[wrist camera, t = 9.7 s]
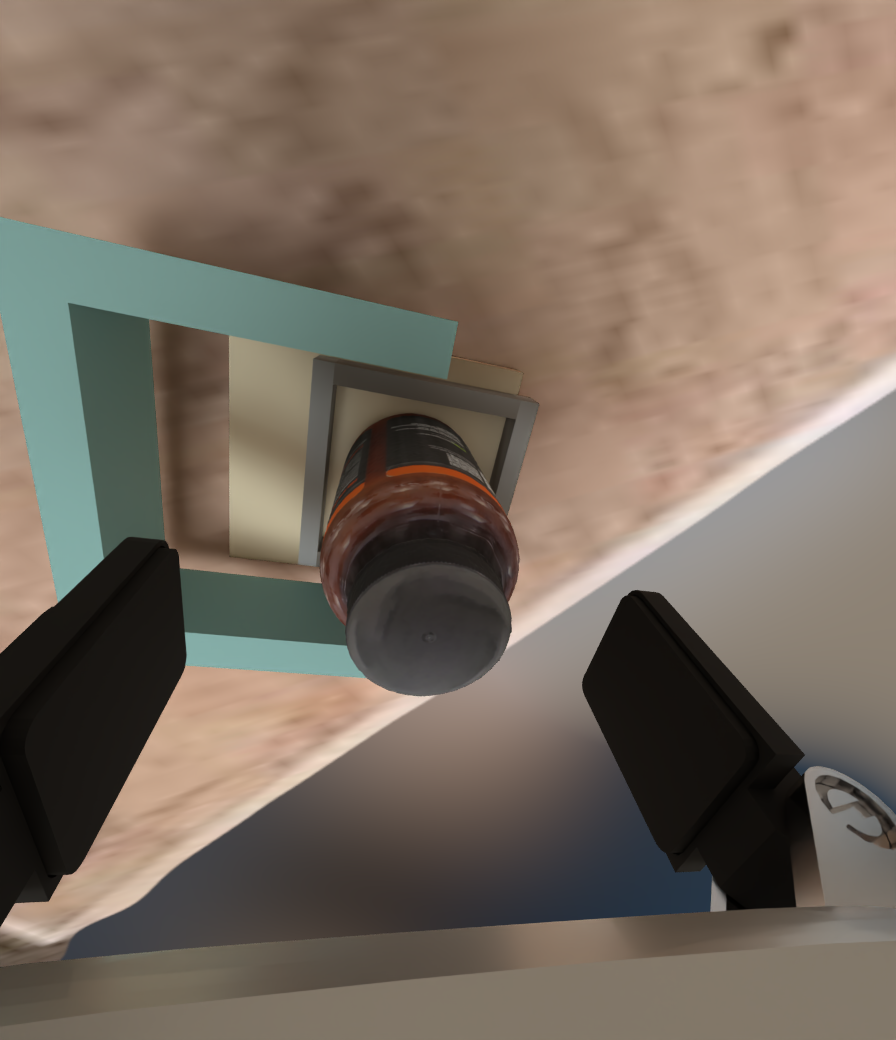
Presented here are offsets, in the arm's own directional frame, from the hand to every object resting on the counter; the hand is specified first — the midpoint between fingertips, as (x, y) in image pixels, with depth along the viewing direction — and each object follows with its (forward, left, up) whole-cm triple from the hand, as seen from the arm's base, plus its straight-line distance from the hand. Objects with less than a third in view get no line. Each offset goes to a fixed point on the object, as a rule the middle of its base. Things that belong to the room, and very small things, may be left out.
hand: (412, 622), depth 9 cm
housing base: (+1, -1, -13) cm, 13 cm away
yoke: (+1, -5, -10) cm, 11 cm away
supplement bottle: (+1, 0, -12) cm, 12 cm away
